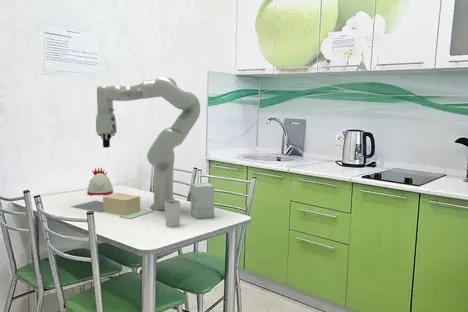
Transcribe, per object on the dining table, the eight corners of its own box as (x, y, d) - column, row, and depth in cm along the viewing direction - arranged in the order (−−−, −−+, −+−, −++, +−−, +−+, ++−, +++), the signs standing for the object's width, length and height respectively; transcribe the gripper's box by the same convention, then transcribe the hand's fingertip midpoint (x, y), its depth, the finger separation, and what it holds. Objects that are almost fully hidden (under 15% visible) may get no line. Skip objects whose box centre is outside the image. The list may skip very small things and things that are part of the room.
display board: (153, 211, 196) (153, 210, 196) (130, 219, 182) (130, 218, 182) (95, 201, 215) (95, 200, 215) (70, 207, 201) (70, 206, 201)
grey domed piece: (89, 191, 240) (89, 166, 239) (114, 190, 243) (113, 165, 241) (85, 196, 227) (85, 169, 225) (111, 195, 229) (110, 169, 228)
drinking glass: (161, 224, 174) (161, 202, 173) (171, 221, 180) (171, 199, 179) (172, 227, 171) (173, 204, 170) (183, 224, 176) (183, 201, 175)
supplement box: (208, 212, 196) (208, 182, 195) (214, 217, 188) (214, 185, 186) (190, 214, 193) (190, 183, 191) (195, 219, 185) (195, 186, 183)
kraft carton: (140, 210, 196) (140, 196, 195) (125, 215, 187) (125, 200, 186) (118, 206, 202) (118, 193, 202) (103, 211, 194) (103, 196, 193)
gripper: (122, 111, 205) (123, 147, 207) (99, 110, 211) (100, 146, 213) (111, 111, 198) (112, 148, 200) (88, 110, 204) (89, 147, 207)
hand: (106, 147), depth 207 cm, fingers closed
